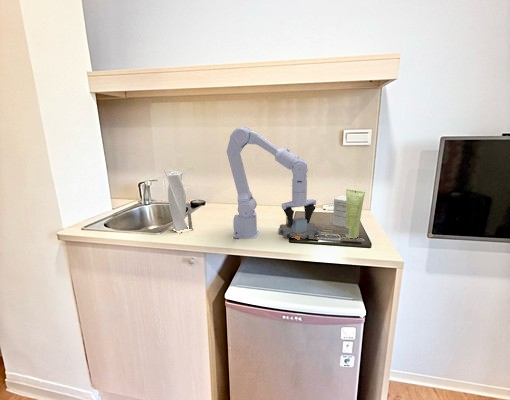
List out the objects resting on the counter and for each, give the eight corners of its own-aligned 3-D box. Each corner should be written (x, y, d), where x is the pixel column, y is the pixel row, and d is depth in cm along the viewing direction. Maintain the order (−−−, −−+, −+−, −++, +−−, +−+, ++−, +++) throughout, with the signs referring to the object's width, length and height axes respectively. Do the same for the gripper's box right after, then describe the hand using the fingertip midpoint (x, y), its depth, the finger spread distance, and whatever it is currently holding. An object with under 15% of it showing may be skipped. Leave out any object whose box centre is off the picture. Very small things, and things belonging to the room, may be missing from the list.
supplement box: (339, 221, 131) (340, 195, 128) (354, 224, 126) (356, 197, 123) (332, 225, 125) (333, 198, 122) (348, 229, 121) (350, 201, 118)
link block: (295, 233, 111) (296, 221, 109) (291, 230, 114) (291, 219, 113) (306, 231, 112) (307, 219, 111) (302, 228, 116) (302, 217, 114)
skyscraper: (176, 234, 120) (169, 170, 113) (168, 230, 126) (160, 168, 119) (193, 229, 126) (187, 168, 119) (184, 225, 132) (179, 166, 124)
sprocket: (305, 244, 105) (305, 231, 104) (269, 233, 117) (269, 221, 116) (328, 231, 118) (329, 219, 116) (294, 222, 130) (294, 211, 128)
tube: (357, 235, 114) (360, 188, 109) (361, 240, 109) (365, 191, 104) (343, 235, 114) (346, 189, 109) (347, 240, 109) (349, 191, 104)
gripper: (310, 187, 115) (309, 218, 118) (278, 190, 110) (278, 223, 114) (319, 190, 109) (318, 223, 112) (286, 194, 104) (286, 228, 107)
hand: (298, 223), depth 112 cm, fingers open, 7 cm apart
